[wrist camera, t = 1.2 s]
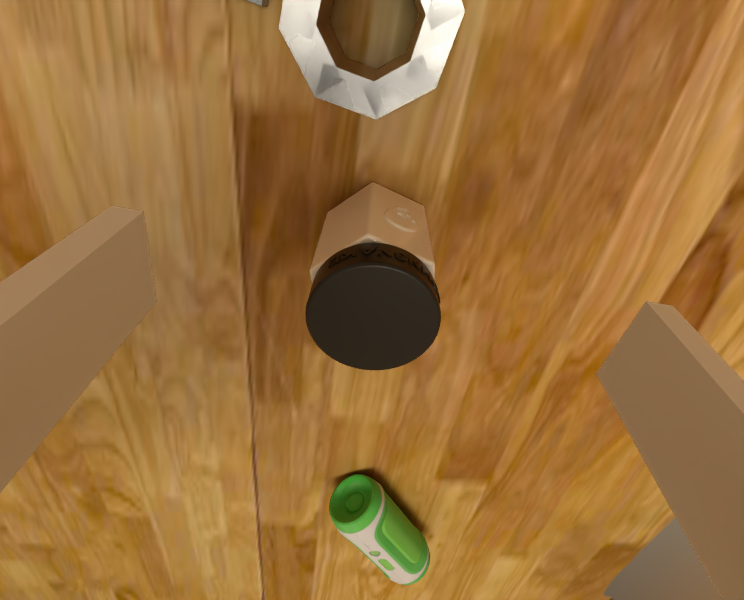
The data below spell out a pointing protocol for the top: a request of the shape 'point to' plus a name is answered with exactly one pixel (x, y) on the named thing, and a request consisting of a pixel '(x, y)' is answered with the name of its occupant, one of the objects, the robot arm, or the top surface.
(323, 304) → the jar
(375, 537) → the speaker
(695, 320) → the top surface
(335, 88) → the tube
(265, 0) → the shaft stand
